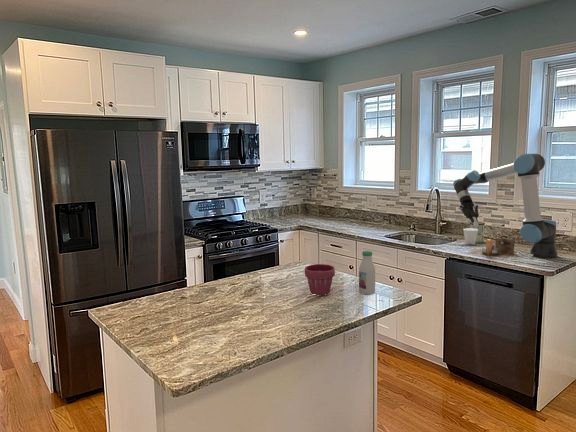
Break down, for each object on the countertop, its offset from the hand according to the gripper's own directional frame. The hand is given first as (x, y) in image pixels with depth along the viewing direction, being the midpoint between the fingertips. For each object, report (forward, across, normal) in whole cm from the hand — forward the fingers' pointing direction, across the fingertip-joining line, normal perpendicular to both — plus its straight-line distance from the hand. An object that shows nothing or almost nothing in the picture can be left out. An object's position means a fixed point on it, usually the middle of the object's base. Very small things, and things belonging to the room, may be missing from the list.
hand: (476, 226), depth 288 cm
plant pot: (+62, +115, +37) cm, 136 cm away
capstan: (+18, -5, -6) cm, 20 cm away
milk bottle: (+64, +92, +38) cm, 118 cm away
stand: (+18, -6, -8) cm, 20 cm away
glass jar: (-13, -19, -38) cm, 44 cm away
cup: (-6, -9, -31) cm, 33 cm away
